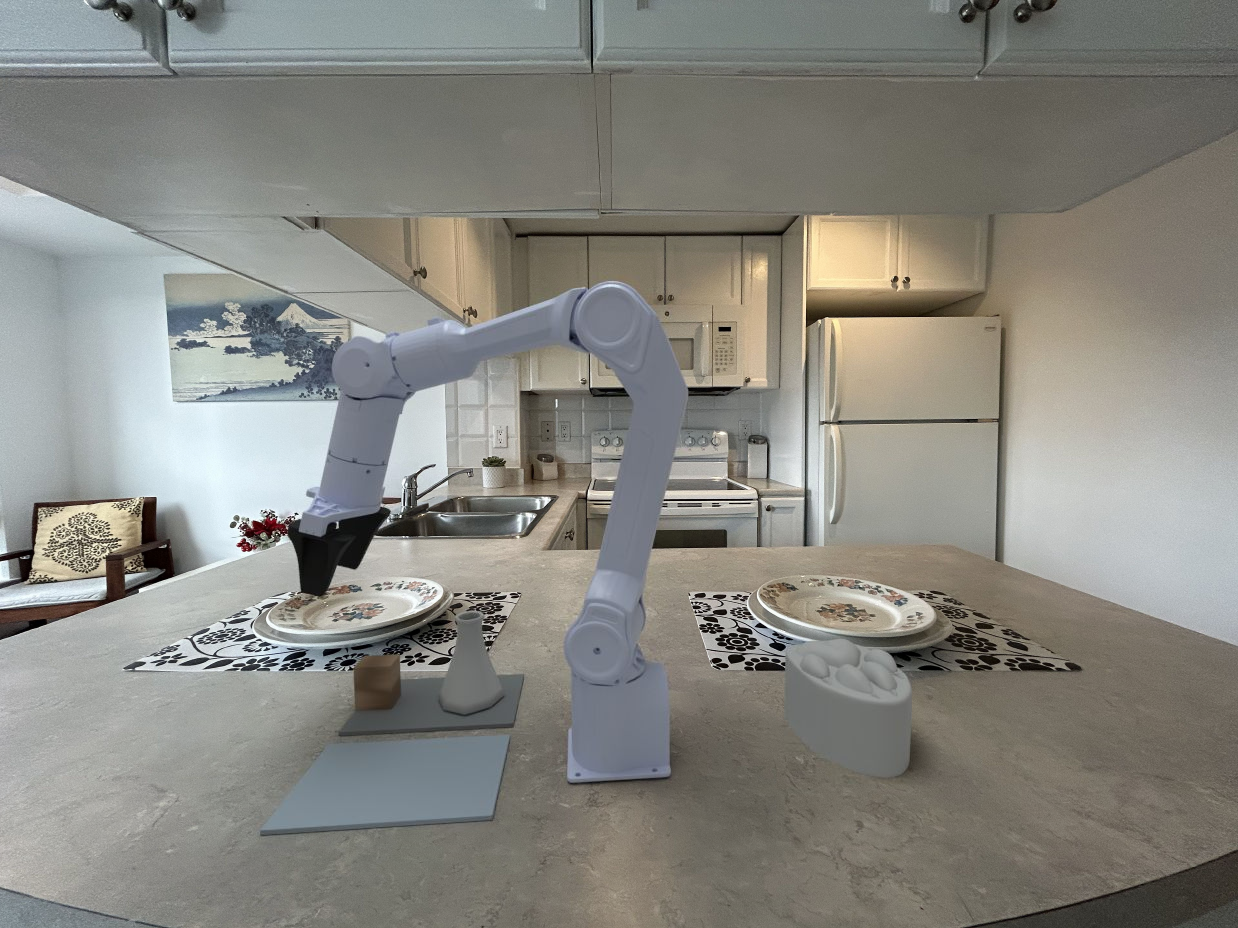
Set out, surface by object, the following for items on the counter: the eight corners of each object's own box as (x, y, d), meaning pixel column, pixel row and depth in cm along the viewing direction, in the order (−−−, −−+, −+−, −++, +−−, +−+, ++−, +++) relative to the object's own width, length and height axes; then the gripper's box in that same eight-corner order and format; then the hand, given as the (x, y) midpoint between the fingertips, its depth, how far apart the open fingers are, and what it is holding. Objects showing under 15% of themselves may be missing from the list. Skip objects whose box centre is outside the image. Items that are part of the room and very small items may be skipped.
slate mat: (510, 738, 52) (510, 734, 52) (492, 819, 41) (492, 815, 41) (328, 747, 51) (328, 743, 51) (260, 834, 40) (260, 830, 40)
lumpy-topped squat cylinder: (855, 698, 60) (857, 626, 59) (941, 771, 47) (945, 681, 47) (772, 706, 58) (774, 632, 58) (838, 784, 46) (841, 691, 45)
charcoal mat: (524, 676, 65) (523, 636, 65) (513, 726, 54) (512, 678, 54) (379, 683, 64) (377, 641, 63) (338, 735, 53) (336, 685, 53)
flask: (479, 677, 64) (477, 600, 64) (515, 696, 60) (514, 613, 59) (426, 700, 59) (423, 617, 58) (462, 723, 54) (460, 632, 54)
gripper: (350, 440, 59) (326, 548, 61) (277, 456, 45) (248, 597, 46) (411, 456, 60) (385, 562, 62) (358, 477, 46) (327, 615, 47)
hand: (331, 579), depth 54 cm, fingers open, 7 cm apart
